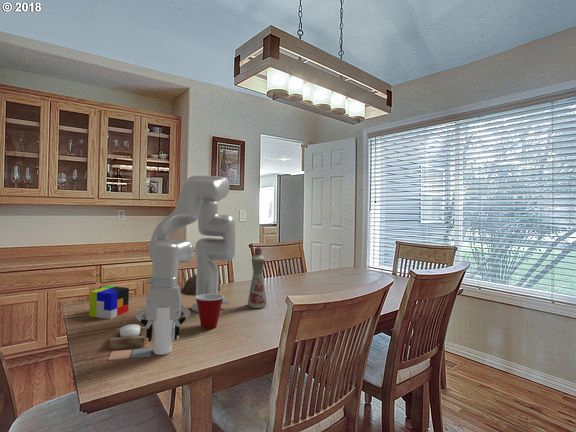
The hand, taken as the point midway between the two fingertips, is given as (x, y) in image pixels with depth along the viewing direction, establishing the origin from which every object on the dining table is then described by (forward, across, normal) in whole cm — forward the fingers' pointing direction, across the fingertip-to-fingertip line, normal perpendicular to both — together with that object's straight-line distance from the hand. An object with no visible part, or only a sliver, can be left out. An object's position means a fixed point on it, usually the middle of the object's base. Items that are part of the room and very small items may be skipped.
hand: (163, 338), depth 101 cm
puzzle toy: (+5, -24, +41) cm, 48 cm away
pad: (+4, -12, 0) cm, 13 cm away
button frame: (+4, -11, +10) cm, 15 cm away
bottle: (+5, +38, +41) cm, 56 cm away
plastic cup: (+4, +15, +19) cm, 25 cm away
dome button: (+4, -11, +10) cm, 15 cm away
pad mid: (+4, -6, 0) cm, 7 cm away
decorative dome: (+5, +14, +72) cm, 74 cm away
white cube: (+4, +2, +11) cm, 12 cm away
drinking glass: (+4, 0, 0) cm, 4 cm away
